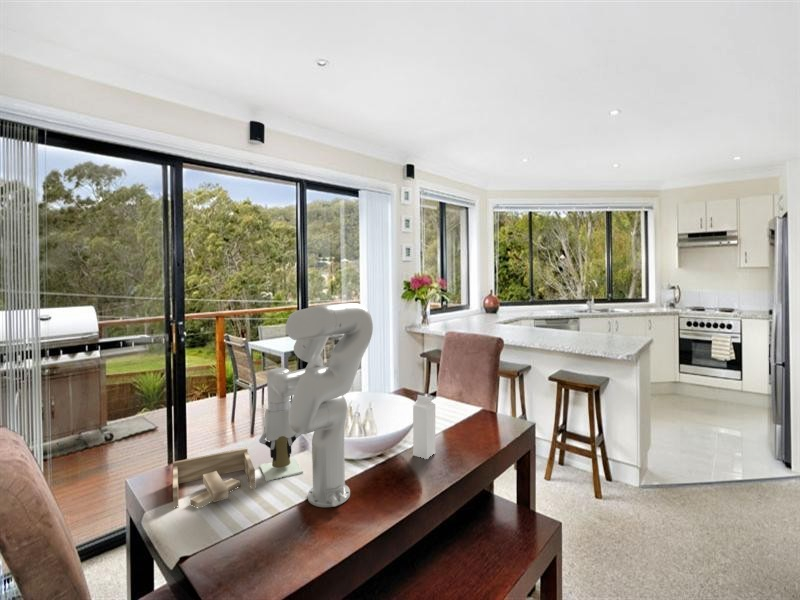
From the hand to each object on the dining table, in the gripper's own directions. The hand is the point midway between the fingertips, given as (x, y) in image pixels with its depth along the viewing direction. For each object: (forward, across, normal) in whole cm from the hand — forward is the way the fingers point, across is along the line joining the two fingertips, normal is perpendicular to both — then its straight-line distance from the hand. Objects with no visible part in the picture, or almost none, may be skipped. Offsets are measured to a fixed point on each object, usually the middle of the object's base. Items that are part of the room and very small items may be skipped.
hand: (281, 457), depth 140 cm
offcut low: (+5, +21, +7) cm, 23 cm away
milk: (+5, -49, +14) cm, 51 cm away
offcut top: (+3, +21, +7) cm, 22 cm away
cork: (+2, 0, 0) cm, 2 cm away
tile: (+4, 0, 0) cm, 4 cm away
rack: (+4, +21, +1) cm, 22 cm away
